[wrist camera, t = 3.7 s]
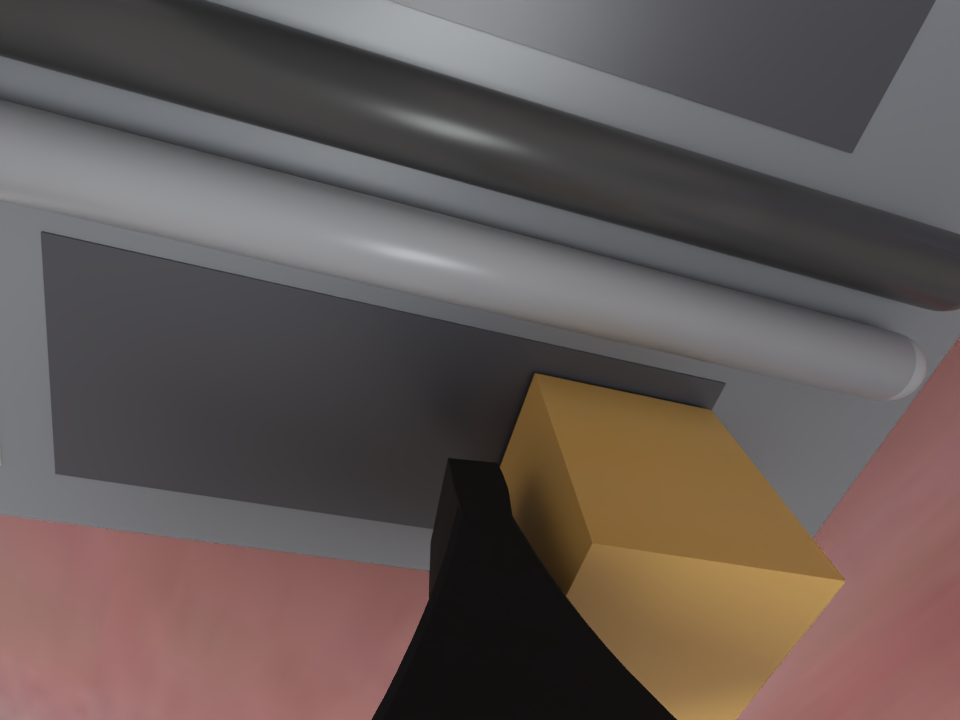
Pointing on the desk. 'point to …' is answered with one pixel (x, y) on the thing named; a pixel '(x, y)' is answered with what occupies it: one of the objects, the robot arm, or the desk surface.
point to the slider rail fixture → (455, 245)
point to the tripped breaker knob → (665, 541)
